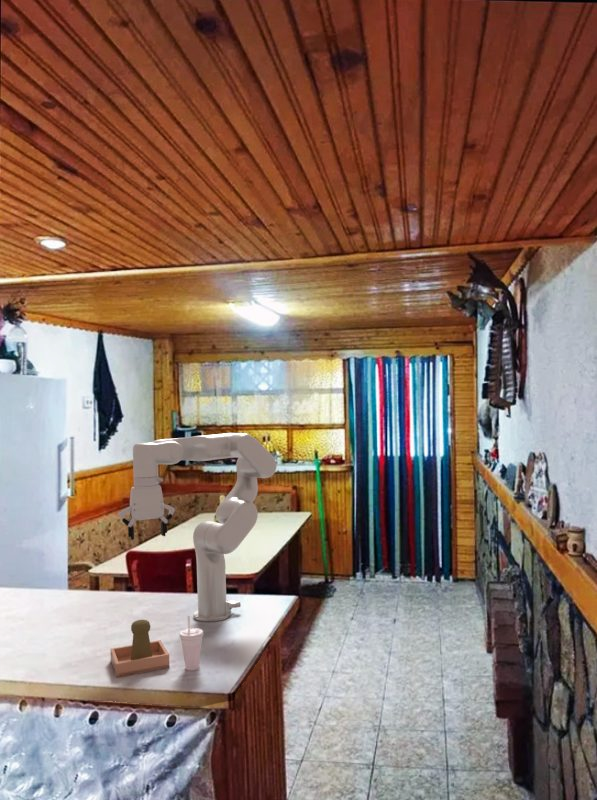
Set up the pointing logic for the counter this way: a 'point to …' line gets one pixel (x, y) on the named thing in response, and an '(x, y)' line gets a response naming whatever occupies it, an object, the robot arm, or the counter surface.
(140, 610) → the counter surface
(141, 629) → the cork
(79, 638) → the counter surface
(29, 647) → the counter surface
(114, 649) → the terracotta tray
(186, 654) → the smoothie
